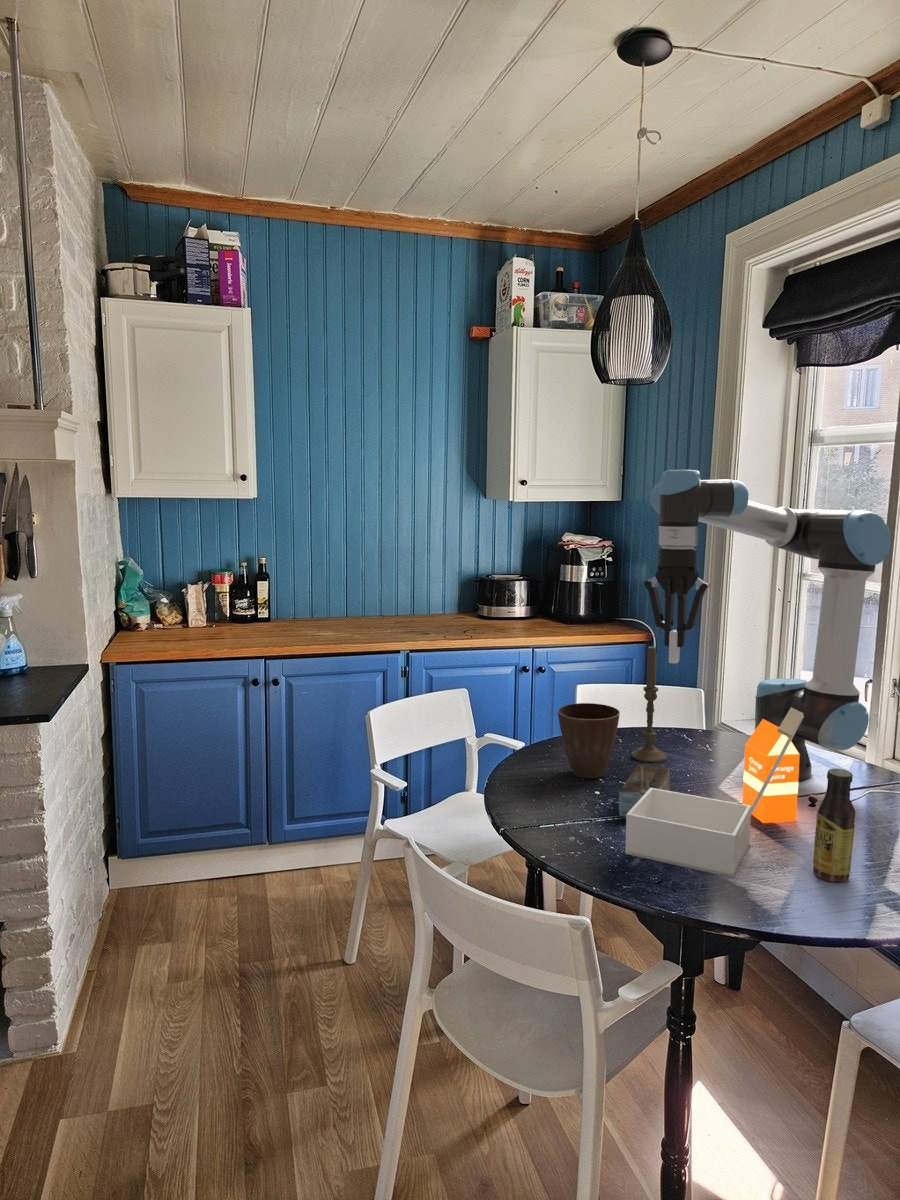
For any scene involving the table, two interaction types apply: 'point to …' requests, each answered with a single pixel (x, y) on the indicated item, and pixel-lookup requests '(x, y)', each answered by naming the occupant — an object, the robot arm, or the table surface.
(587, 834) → the table surface
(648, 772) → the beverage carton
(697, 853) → the box
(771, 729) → the orange juice
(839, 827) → the sauce bottle
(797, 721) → the mailer lid
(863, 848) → the table surface
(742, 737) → the table surface
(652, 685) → the candlestick holder
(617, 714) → the plant pot
